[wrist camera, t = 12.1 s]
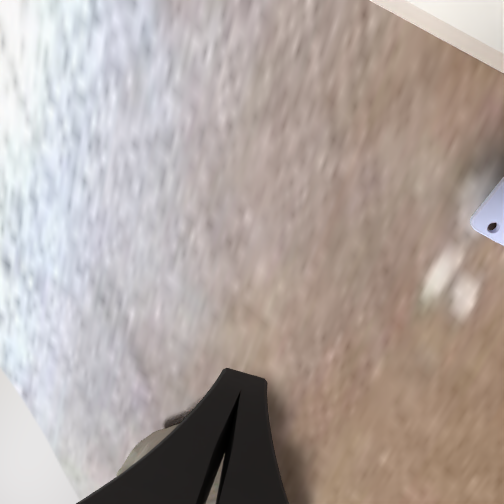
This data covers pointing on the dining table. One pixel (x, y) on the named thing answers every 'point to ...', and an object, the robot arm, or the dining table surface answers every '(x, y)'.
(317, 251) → the dining table surface
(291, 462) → the dining table surface
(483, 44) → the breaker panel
